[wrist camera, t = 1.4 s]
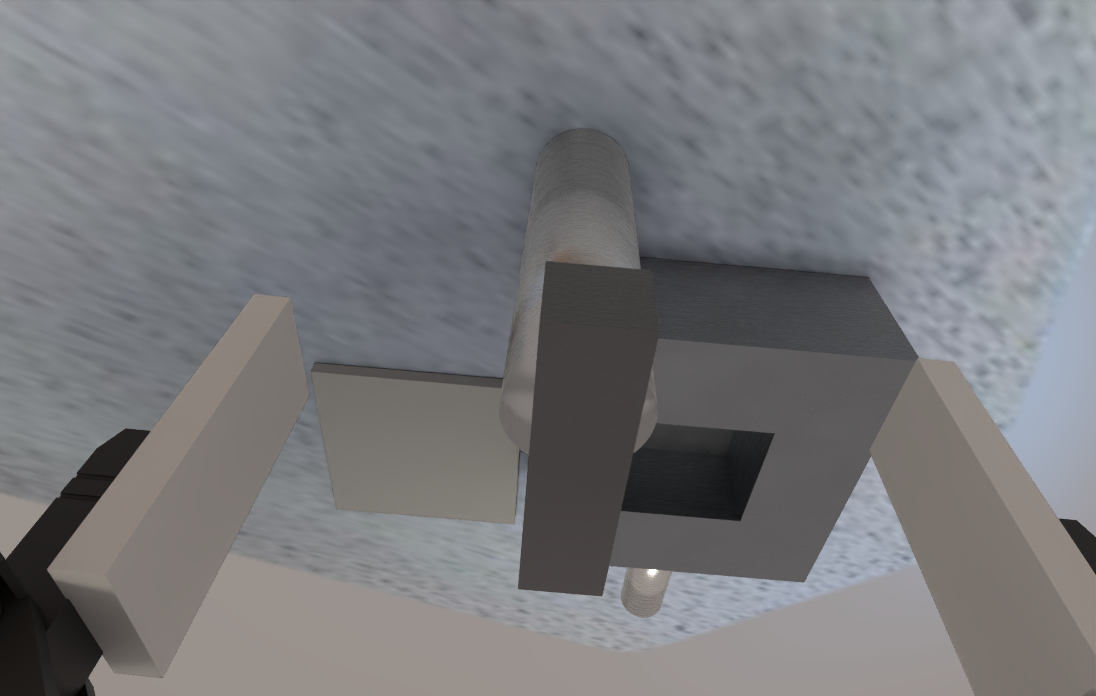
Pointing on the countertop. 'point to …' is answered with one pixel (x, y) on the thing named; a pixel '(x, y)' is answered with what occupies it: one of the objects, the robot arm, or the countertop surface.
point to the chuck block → (754, 422)
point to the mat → (416, 443)
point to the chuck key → (579, 361)
